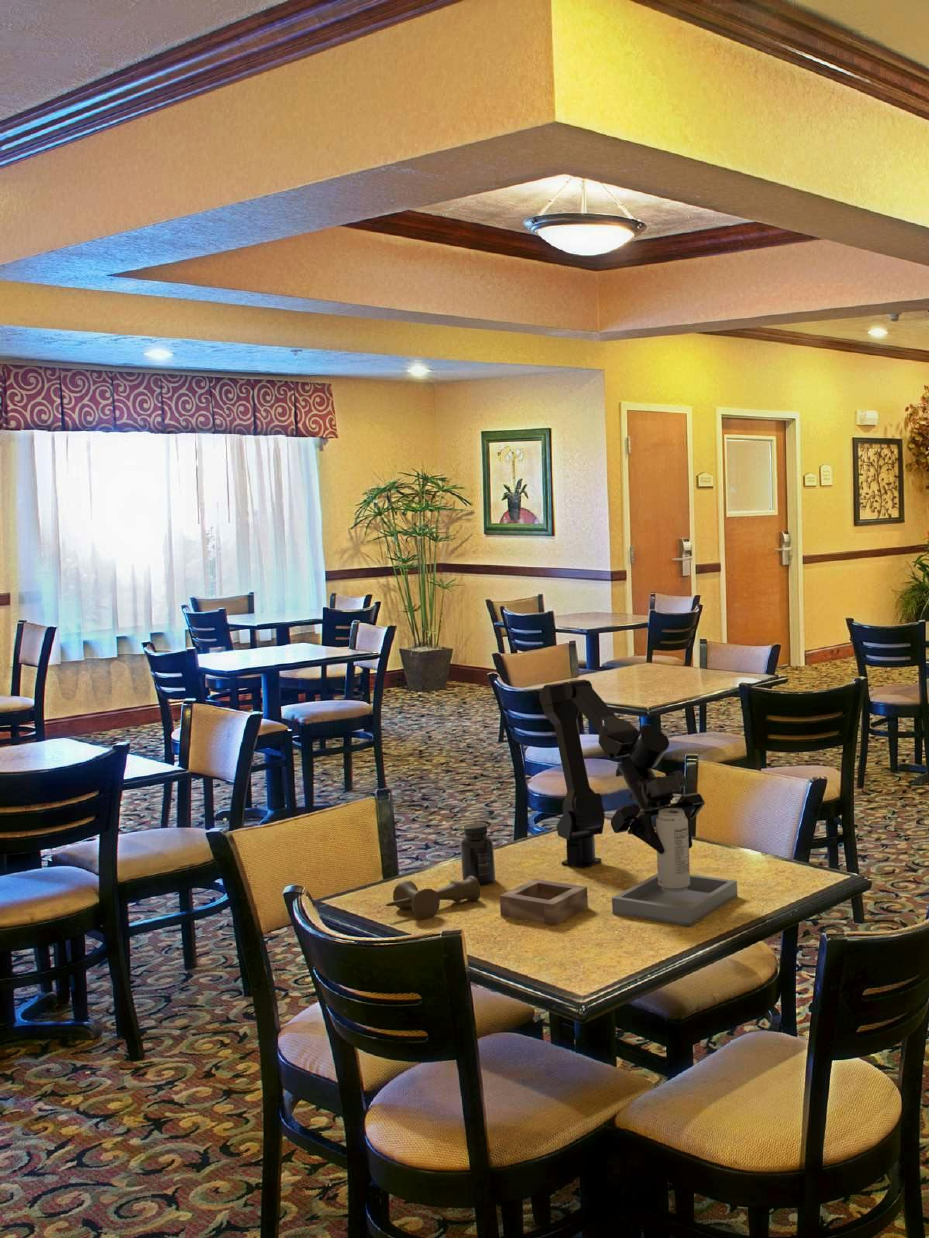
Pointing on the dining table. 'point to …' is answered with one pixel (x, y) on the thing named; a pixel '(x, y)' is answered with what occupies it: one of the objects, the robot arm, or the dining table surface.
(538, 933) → the dining table surface
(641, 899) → the parts tray
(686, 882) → the energy drink can
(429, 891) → the kendama
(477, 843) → the supplement bottle
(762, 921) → the dining table surface
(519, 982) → the dining table surface
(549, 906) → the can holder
